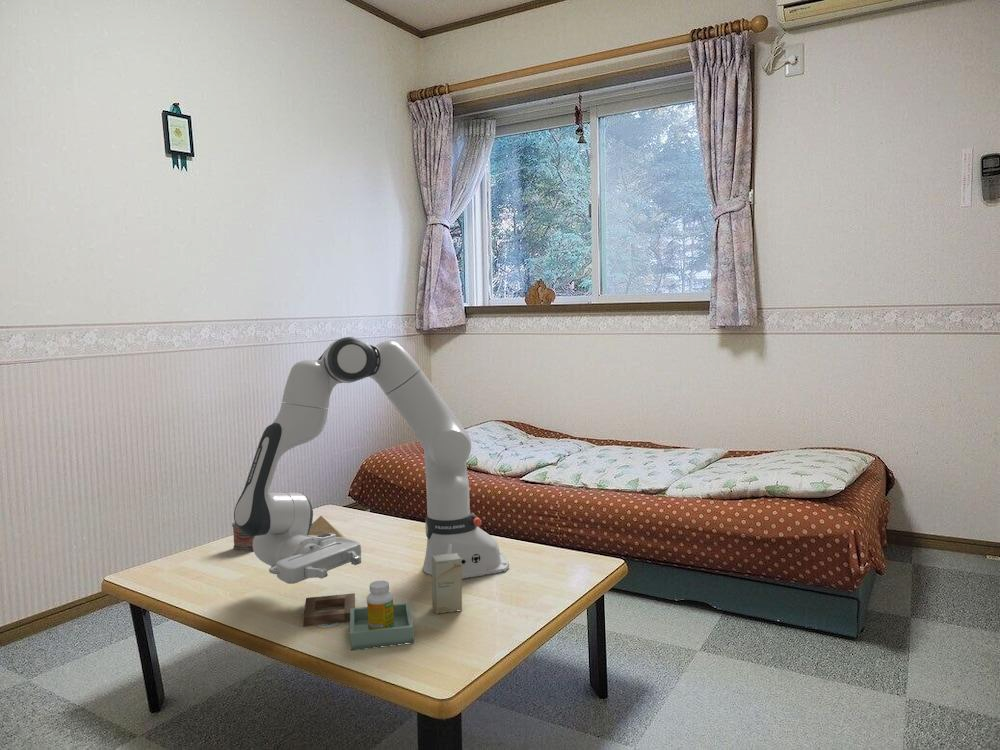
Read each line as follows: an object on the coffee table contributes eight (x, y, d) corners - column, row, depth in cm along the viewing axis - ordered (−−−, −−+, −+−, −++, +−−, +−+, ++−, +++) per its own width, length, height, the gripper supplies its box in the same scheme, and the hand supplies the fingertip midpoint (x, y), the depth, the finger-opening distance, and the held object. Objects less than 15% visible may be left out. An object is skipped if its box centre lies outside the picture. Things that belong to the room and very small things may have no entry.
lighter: (231, 550, 208) (229, 516, 207) (238, 546, 211) (236, 512, 210) (256, 551, 206) (254, 517, 205) (262, 547, 209) (260, 514, 208)
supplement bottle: (388, 635, 149) (387, 589, 148) (364, 633, 150) (362, 588, 149) (397, 623, 154) (395, 579, 153) (373, 622, 155) (371, 578, 154)
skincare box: (435, 614, 161) (434, 561, 160) (431, 607, 165) (430, 555, 164) (463, 611, 162) (461, 558, 161) (458, 603, 167) (457, 552, 166)
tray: (409, 617, 159) (408, 602, 159) (414, 643, 147) (413, 626, 147) (351, 623, 157) (350, 608, 157) (350, 650, 145) (350, 633, 144)
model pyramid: (285, 546, 212) (284, 512, 211) (344, 537, 219) (343, 504, 218) (295, 563, 197) (293, 527, 196) (358, 553, 204) (356, 518, 203)
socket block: (355, 601, 169) (354, 593, 169) (355, 621, 158) (354, 612, 158) (306, 606, 167) (306, 597, 167) (303, 626, 156) (302, 617, 156)
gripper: (263, 555, 160) (302, 567, 151) (337, 530, 176) (375, 540, 167) (265, 583, 160) (304, 597, 152) (338, 556, 176) (377, 567, 168)
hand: (342, 567), depth 160 cm, fingers open, 8 cm apart
